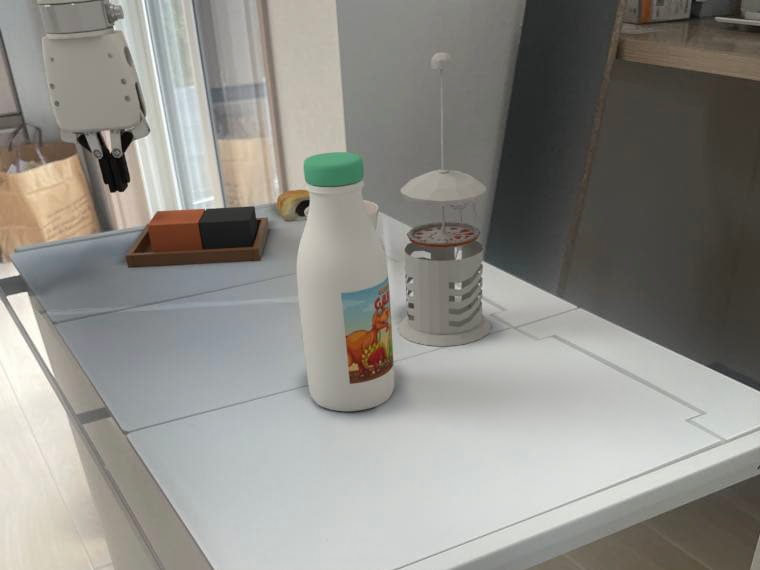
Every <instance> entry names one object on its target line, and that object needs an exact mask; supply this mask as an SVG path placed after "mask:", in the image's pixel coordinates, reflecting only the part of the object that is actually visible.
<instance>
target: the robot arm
mask: <svg viewBox="0 0 760 570" xmlns="http://www.w3.org/2000/svg"><path fill="white" fill-rule="evenodd" d="M36 2H37V6H38V9H39V13H40V17H41V20H42V24H43V28H44V32H45V36H42V37H41V48H42V59H43V65H44V72H45V79H46V84H47V89H48V95H49V98H50V103H51V107H52V111H53V115H54V118H55V122H56V124H57V126H58V127H59V135H60V140H61V141H62V142H64V143H67V144H68V143H69V144H75V145H80V146H82V147H83V148H84V149H86V150H87V151H88V152H89V153H90V154H92V156H93V157H94V159H96V160H97V161H98V165H99V170H100V174H101V177H102V180H103V183H104V185H107V186H108V191H109V193H110V194H115V193H117V192H118V193H124V192H125V191H126V190H127V189H128V187H129V183H131V175H130V171H129V166H128V162H127V159H126V158H127V157H126V154H125V153H126V152H127V150H128V148H129V147H130V145H131V144H132V142H135V141H137V140H140V139H143V138H145V137H147V136H149V135H150V134H151V128H150V125H149V123H148V121H147V118H146V117H147V107H146V101H145V98H144V94H143V90H142V86H141V83H140V79H139V76H138V73H137V68H136V66H135V62H134V60H133V57H132V53H131V51H130V48H129V45H128V42H127V40H126V37H125V35H124V32H123V31H122V30H120V29H116V30H115V28H114V26H115V25H116V22H118V21H119V20H124V19H125V18H124V17H125V13H124V10H123V7H122V5H115V4H112V2H111V1H110V0H36ZM104 131H106V132H107V131H109V138H110V148H111V150H110V149H109V148H108V146H107V143H106V140H105V138H104V135H103V133H102V132H104Z"/></svg>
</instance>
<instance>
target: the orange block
mask: <svg viewBox="0 0 760 570" xmlns="http://www.w3.org/2000/svg"><path fill="white" fill-rule="evenodd" d="M205 211H206V208H193V209H171V210H157V211H156V212H155V214H153V216H152V218H151V220H150V221H149V223H147V224H148V225H147V224H146V225H147V226H148V231H149V235H150V240H151V245H152V249H153V252H168V251H187V250H204V247H203V242H202V236H201V230H200V225H199V222H200V220H201V218H202V216H203V215H204V213H205Z"/></svg>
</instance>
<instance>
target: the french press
mask: <svg viewBox="0 0 760 570" xmlns="http://www.w3.org/2000/svg"><path fill="white" fill-rule="evenodd" d="M430 66H431V67H430V68H431V69H435V70H438V69H439V70H440V71H439V73H440V74H439V75H440V77H439V79H440V80H439V81H440V147H441V148H440V149H441V150H440V153H441V156H440V158H441V162H440V163H441V168H439V169H437V170H436V169H435V170H432V171H429V172H425V173H424V174H423V173H422V174H420V175H418V176H416V177H414V178H412V179H410V180H409V181H408V182H407V183H406V184H405V185H404V186H402V187H401V189H400V190H399V191H400V192H401V194H402V196H403V198H404V200H406V201H408V202H410V203H414V204H419V205H424V206H441V221H432V222H430V221H429V222H424V223H423V224H422V223H421V224H418V225H415V226H413V227H412V228H410V229H409V230H408V232H407V233H406V236H407V238H408V240H409V242H410V243H407V244H406V245H405V247H404V251H403V253H404V271H405V297H406V298H405V303H406V304H405V305H406V315H405V317H404V318H403V319H402V320H401V322H400V323H399V325H398V326H397V330H398V334H399V335H400V336H401V337H403V338H404V339H406V340H407V341H409V342H413V343H416V344H420V345H424V346H430V347H431V346H433V347H451V346H462V345H467V344H469V343H472V342H476V341H479V340H481V339H482V338H484V337H485V336H487V335H489V333H490V331H491V329H492V324H491V322H490V321H489V319H488V318H487V317H486V316H485V315H484V314H483V302H482V299H483V289H482V288H483V282H484V281H483V280H484V278H483V277H482V275H483V269H484V265H483V264H482V262H483V260H484V247H483V245H482V244H481V242H480V241H477V240H478V238H479V236H480V234H481V231H480V229H479V228H478V226H477V225H478V223H477V222H478V220H477V218H478V217H477V214H478V213H477V209H476V204H475V201H477V200H479V199H481V198H483V196H484V194H485V192H486V190H487V187H486V186H485V185H484V183H482V182H481V181H479V180H477V179H476V178H475V177H473V176H472V175H470V174H468V173H464V172H462V171H459V170H449V169H447V168H445V165H444V164H445V157H444V154H445V153H444V152H445V150H444V148H445V147H444V69H452V68H453V58H452V56H451V55H450V54H449V53H448V52H443V51H441V52H437V53H435V54H434V55H433V56H432V57H431V61H430ZM468 203H471V204H472V209H473V214H474V215H473V217H474V221H473V224H470V223H468V222H463V213H462V210H465V209H466V208H467V207H468ZM461 204H462V205H463V206H462V205H461ZM455 205H457V206H455ZM445 206H450V207H451V208H452V209H453V210H458V214H459V215H458V217H459V221H458V222H457V221H455V222H454V221H450V220H448V221H447V220H446V221H445ZM455 248H456V249H455ZM460 249H461V258H460V259H457V258H458V255H459V252H460ZM455 250H456V251H455ZM414 252H426V253H428V254H430V258H428V257H424V256H421V257H415V256H412V254H413V253H414ZM411 281H412V283H410V282H411ZM456 284H461V288H460V289H457V288H455V287H456ZM411 293H413V295H411ZM456 297H458V298H460V297H461V300H460V302H458V301H456Z"/></svg>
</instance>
